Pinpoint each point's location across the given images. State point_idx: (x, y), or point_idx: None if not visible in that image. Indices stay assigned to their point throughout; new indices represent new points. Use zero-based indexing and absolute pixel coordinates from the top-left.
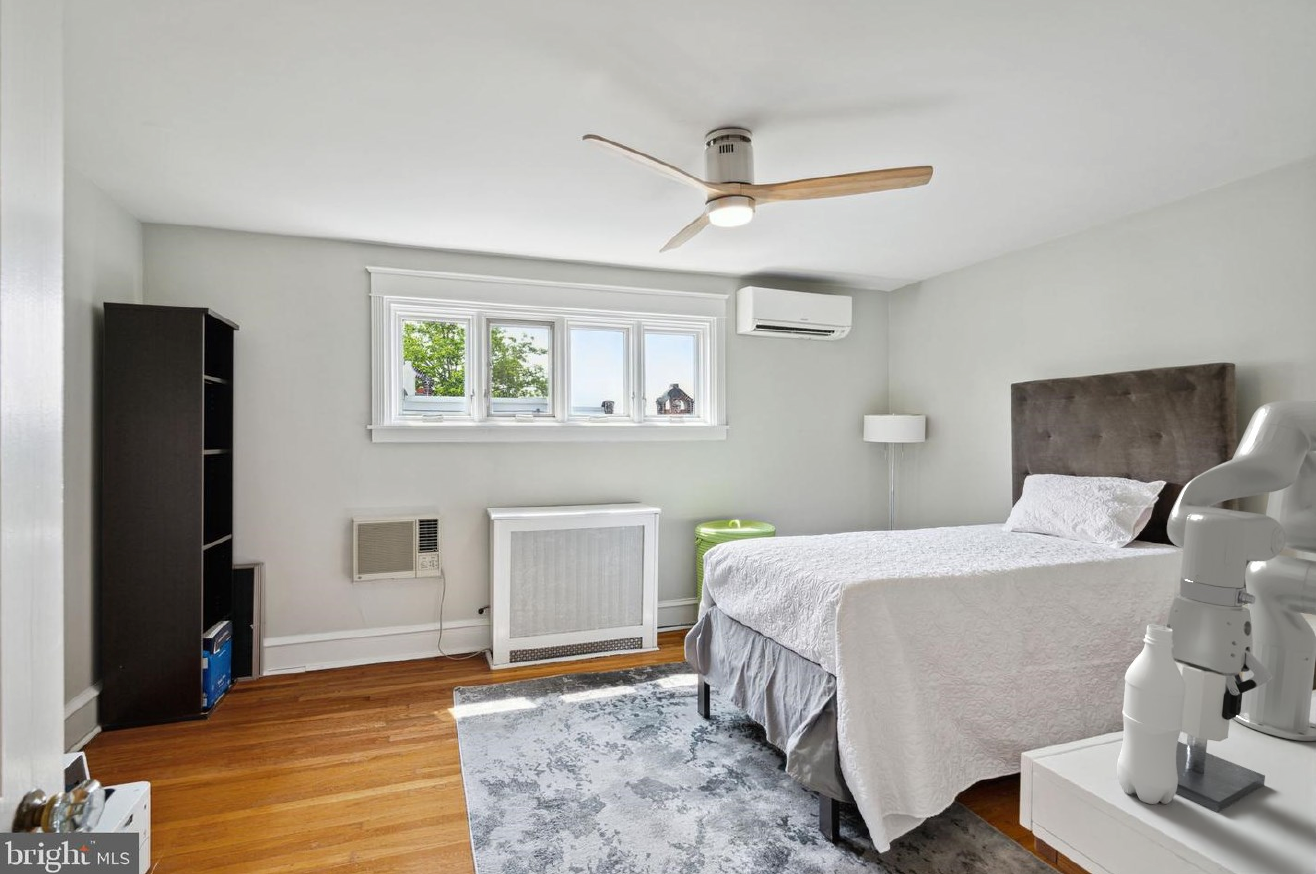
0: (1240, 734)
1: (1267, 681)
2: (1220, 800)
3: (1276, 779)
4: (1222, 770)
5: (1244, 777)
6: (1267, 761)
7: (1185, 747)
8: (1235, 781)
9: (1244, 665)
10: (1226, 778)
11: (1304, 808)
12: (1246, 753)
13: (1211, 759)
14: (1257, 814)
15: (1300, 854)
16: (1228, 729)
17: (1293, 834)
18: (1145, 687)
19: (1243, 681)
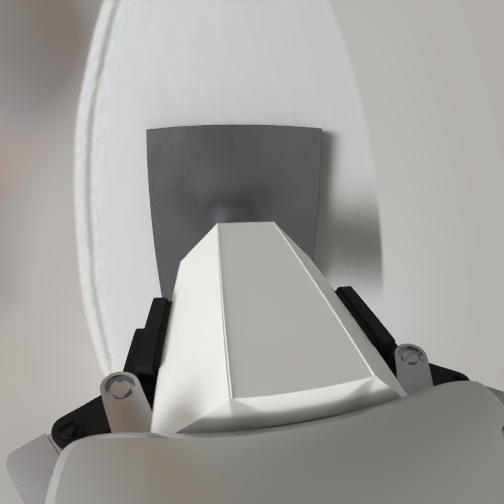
0: None
1: (491, 391)
2: None
3: (317, 77)
4: (269, 190)
5: (303, 181)
6: (278, 7)
7: (178, 146)
8: (299, 219)
9: (478, 395)
10: (286, 223)
11: (371, 164)
12: (242, 4)
13: (235, 154)
14: (335, 261)
15: (379, 310)
16: (316, 267)
17: (372, 271)
18: None
19: (430, 378)
